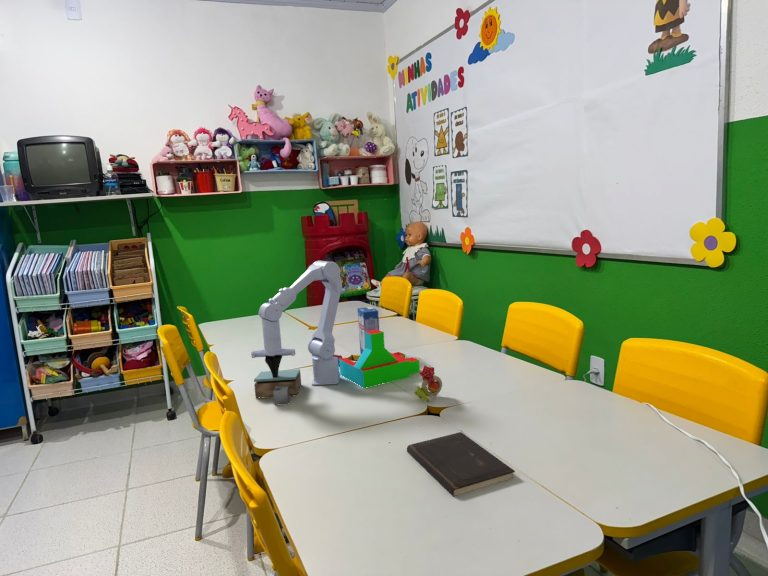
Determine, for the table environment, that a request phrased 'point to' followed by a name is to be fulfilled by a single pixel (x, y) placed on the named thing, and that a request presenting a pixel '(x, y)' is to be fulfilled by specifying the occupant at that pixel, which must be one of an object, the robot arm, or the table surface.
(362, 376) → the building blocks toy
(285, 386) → the metal weight
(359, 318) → the milk carton
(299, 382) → the toy box
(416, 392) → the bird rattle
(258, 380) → the lid
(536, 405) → the table surface
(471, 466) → the hardcover book
